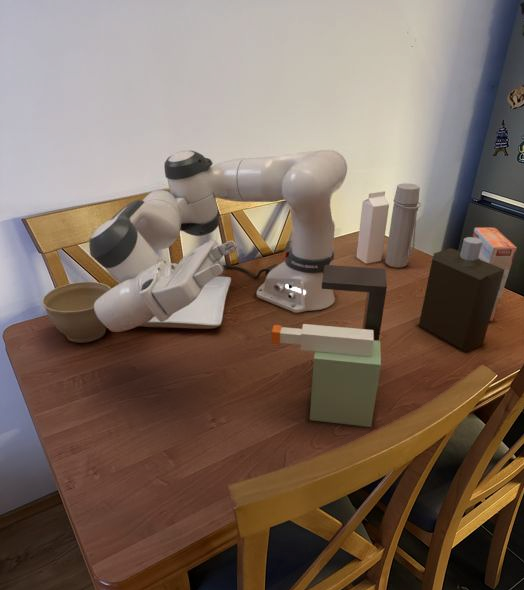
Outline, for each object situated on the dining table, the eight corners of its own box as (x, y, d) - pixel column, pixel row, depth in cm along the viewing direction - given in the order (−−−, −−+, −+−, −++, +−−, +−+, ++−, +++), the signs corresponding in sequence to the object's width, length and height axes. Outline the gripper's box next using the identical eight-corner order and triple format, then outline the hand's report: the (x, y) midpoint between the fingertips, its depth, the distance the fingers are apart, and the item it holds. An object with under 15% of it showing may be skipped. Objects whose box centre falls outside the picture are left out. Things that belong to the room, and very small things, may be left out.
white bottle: (271, 347, 92) (271, 331, 90) (274, 337, 95) (274, 321, 93) (371, 357, 89) (373, 340, 87) (371, 346, 92) (373, 329, 90)
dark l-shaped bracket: (314, 386, 106) (321, 281, 92) (317, 365, 113) (324, 264, 99) (370, 392, 104) (387, 286, 90) (370, 370, 111) (385, 268, 97)
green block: (309, 420, 97) (313, 358, 89) (313, 394, 104) (317, 335, 95) (371, 427, 95) (381, 364, 87) (370, 401, 102) (380, 340, 94)
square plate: (115, 333, 124) (112, 320, 122) (142, 285, 147) (140, 273, 145) (221, 335, 123) (220, 322, 121) (232, 286, 146) (231, 274, 144)
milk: (381, 261, 161) (391, 194, 149) (365, 264, 159) (374, 196, 147) (370, 254, 166) (379, 188, 153) (355, 257, 164) (363, 190, 151)
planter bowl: (127, 339, 122) (120, 300, 116) (61, 358, 115) (49, 318, 109) (109, 312, 134) (102, 275, 128) (47, 327, 127) (36, 290, 121)
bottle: (465, 354, 116) (493, 256, 102) (414, 325, 127) (432, 233, 113) (486, 344, 119) (516, 248, 106) (435, 317, 131) (455, 226, 117)
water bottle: (379, 263, 160) (390, 185, 146) (395, 257, 163) (407, 181, 149) (401, 273, 153) (414, 192, 139) (417, 267, 157) (432, 188, 143)
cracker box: (495, 322, 128) (518, 247, 117) (471, 322, 128) (492, 246, 117) (477, 297, 140) (497, 226, 128) (456, 297, 140) (473, 226, 128)
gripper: (192, 276, 100) (249, 248, 95) (157, 327, 84) (224, 296, 78) (175, 250, 98) (232, 219, 92) (135, 297, 81) (202, 263, 75)
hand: (228, 255), depth 85 cm, fingers open, 8 cm apart
